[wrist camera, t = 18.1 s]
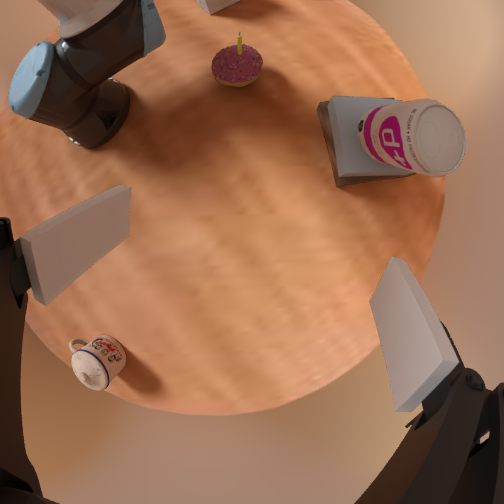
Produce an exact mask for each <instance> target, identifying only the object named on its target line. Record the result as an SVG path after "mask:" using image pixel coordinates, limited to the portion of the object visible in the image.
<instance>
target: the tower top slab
mask: <svg viewBox="0 0 504 504" xmlns="http://www.w3.org/2000/svg"><path fill="white" fill-rule="evenodd" d="M401 102H402V100H394V99H383V98H370V97H350V96H332V98H331V100H330V102H329V104H328V106H327V107H328V112H329V117H330V123H331V128H332V134H333V140H334V146H335V153H336V160H337V167H338V175H339V177H350V176H387V175H408V174H412V173H416V172H413V171H409V170H406V169H402V168H399V167H395V166H391V165H388V164H384V163H380V162H378V161H375V160H373V159H371V158H370V157H369V156H368V155H367V154H366V153H365V152H364V151H363V149H362V147H361V146H360V144H359V140H358V135H357V131H358V123H359V121H360V119H361V117H362V115H363V114H364V113H366V112H367V111H368V110H369V109H372V108H375V107H379V106H384V105H390V104H395V103H401Z"/></svg>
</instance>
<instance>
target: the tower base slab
mask: <svg viewBox="0 0 504 504" xmlns="http://www.w3.org/2000/svg"><path fill="white" fill-rule="evenodd" d="M383 99H394V98H383ZM329 102H330V101H326V102H320V103H319V106H318V108H317V112H318V116H319V119H320V123H321V126H322V130H323V134H324V137H325V141H326V145H327V149H328V153H329V157H330V161H331V165H332V169H333V174H334V178H335V183H336V187H338V186H344V185H351V184H357V183H364V182H370V181H377V180H384V179H391V178H399V177H407V176H410V175H414V174H416V173H412V174H408V175H387V176H350V177H339V175H338V167H337V160H336V153H335V146H334V140H333V134H332V128H331V123H330V117H329V112H328V107H327V106H328V104H329Z"/></svg>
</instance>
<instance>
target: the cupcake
mask: <svg viewBox="0 0 504 504" xmlns="http://www.w3.org/2000/svg"><path fill="white" fill-rule="evenodd" d="M262 67H263V60H262V57H261V55H260V54H259V53H258V52H257V51H256V49H253V48H252V47H250V46H248V45H244V44H243V45H242V36H241V35H240V31H239V35H237V45H233V46H230V47H227V48H225V49H224V48H223V49H222V50H221V51H220V52H219V53H218V54H217V55H216V56H215V57H214V59H213V60H212V73H213V76H214V77H215V79H216V80H217V81H218V82H219V83H221V84H223V85H227V86H235V87H242V86H246V85H248V84H250V83H251V82H253V81H254V80H256V79H257V78H259V77H260V75H261V72H262Z"/></svg>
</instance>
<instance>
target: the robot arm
mask: <svg viewBox="0 0 504 504" xmlns="http://www.w3.org/2000/svg"><path fill="white" fill-rule="evenodd" d="M37 1H38V2H40V3H41V4H42V5H43V6H44V7H45V8H46V9H47V10H49V11H50V12H51V13H52V14H53V15H54V16H55V17H56V18H57V19H59V20H60V26H59V31H58V35H59V36H60V37H61V38H60V39H59V40H58V41H57V42H56V43H54V44H52V43H51V42H46V41H44V42H42V43H39V44H37V45H35V46H34V47H33V48H32V49H31V50H30V51H29V52H28V53H27V55H26V56H25V57H24V58H23V60H22V61H21V63H20V65H19V66H18V68H17V70H16V72H15V74H14V77H13V79H12V82H11V86H10V90H9V106H10V108H11V110H12V111H13V112H14V113H16V114H18V115H21V116H23V117H24V118H25V119H30V120H33V121H36V122H39V123H43V124H46V125H49V126H52V127H55V128H58V129H61V130H62V131H63V132H64V133H65V134H66V135H67V136H68V137H69V138H70V139H71V141H72V142H74V143H75V144H77V145H79V146H82V147H85V148H94V147H98V146H100V145H102V144H104V143H106V142H107V141H108V140H110V139H111V138H112V137H113V136H114V135H115V134H116V133H117V132H118V130H119V129H120V127H121V126H122V124H123V122H124V121H125V118H126V116H127V113H128V110H129V103H130V99H129V93H128V91H127V89H126V87H125V86H124V85H122V84H121V83H120V82H119V81H117V80H115V79H113V78H110V77H111V76H113V75H114V74H116V73H117V72H119V71H121V70H122V69H124V68H125V67H127V66H128V65H130V64H132V63H133V62H135V61H137V60H138V59H140V58H144V57H145V56H146V55H147V54H148V53H150V52H152V51H153V50H155V49H157V48H158V47H160V46H161V45H162V44H163V43H164V41H165V38H166V34H165V30H164V27H163V24H162V21H161V19H160V16H159V13H158V11H157V9H156V7H155V4H154V1H153V0H37ZM130 200H131V187H127V186H122V185H118V186H116V187H114V188H111V189H109V190H107V191H105V192H102V193H100V194H98V195H96V196H94V197H92V198H90V199H88V200H85V201H83V202H81V203H79V204H77V205H75V206H73V207H71V208H69V209H67V210H66V211H64V212H62V213H60V214H58V215H56V216H54V217H52V218H51V219H49V220H47V221H45V222H43V223H42V224H40V225H38V226H36V227H35V228H33V229H31V230H30V231H28V232H26V233H25V234H23V235H21V236H20V238H19V239H17V240H16V241H14V239H13V234H12V228H11V222H10V219H9V218H6V217H1V218H0V504H59V503H56V502H53V501H51V500H48V499H46V498H43V495H42V491H41V488H40V484H39V480H38V477H37V474H36V472H35V469H34V467H33V466H32V464H31V462H30V461H29V459H28V457H27V454H26V450H25V444H24V436H23V427H22V417H21V416H22V415H21V395H20V394H21V393H20V377H21V376H20V374H21V353H22V341H23V331H24V322H25V316H26V309H27V303H28V294H27V290H28V289H29V288H30V287H31V288H32V291H33V294H34V298H35V299H36V300H37V301H39V302H40V303H42V304H44V305H45V306H47V305H48V304H49V303H50V302H51V301H52V300H54V299H55V298H56V297H57V296H58V295H59V294H60V293H61V292H62V291H64V290H65V289H66V288H67V287H68V286H69V285H70V284H71V283H73V282H74V281H75V280H76V279H77V278H78V277H80V276H81V275H82V274H83V273H84V272H85V271H87V270H88V269H89V268H90V267H91V266H93V265H94V264H95V263H96V262H97V261H99V260H100V259H101V258H102V257H104V256H105V255H106V254H107V253H109V252H110V251H111V250H112V249H114V248H115V247H116V246H117V245H119V244H120V243H121V242H123V241H124V240H125V239H127V238H128V237H129V236H130ZM369 302H370V305H371V309H372V312H373V316H374V319H375V323H376V327H377V331H378V334H379V338H380V342H381V346H382V350H383V354H384V359H385V363H386V367H387V372H388V377H389V382H390V387H391V392H392V397H393V402H394V408H395V412H412V411H413V410H414V409H415V408H416V407H417V406H418V405H419V404H420V403H421V402H422V406H423V411H422V412H421V413H420V414H419V415H417V416H416V417H415V418H414V419H413V420H412V421H410V422H409V423H408V424H407V425H406V426H405V427H406V428H408V427H409V426H410V425H412V426H411V428H410V430H409V431H408V433H407V434H406V436H405V437H404V439H403V441H402V442H401V444H400V445H399V447H398V449H397V450H396V451H395V453H394V454H393V456H392V457H391V458H390V460H389V461H388V463H387V464H386V465H385V467H384V468H383V470H382V471H381V472H380V473H379V475H378V476H377V477H376V479H375V480H374V481H373V482H372V484H371V485H370V486H369V487H368V489H367V490H366V491H365V492H364V493H363V494H362V495H361V497H360V498H359V499H358V500H357V501H356V502H355V503H354V504H504V383H500V384H499V385H498V386H497V387H496V388H495V389H494V390H493V391H491V390H488V389H486V388H485V384H484V381H483V379H482V378H481V376H480V375H479V374H478V373H477V372H476V371H474V370H473V369H470V368H465V367H464V364H463V362H462V360H461V358H460V355H459V353H458V351H457V349H456V347H455V345H454V343H453V341H452V338H450V334H449V332H448V330H447V328H446V327H445V326H444V324H443V323H442V322H441V321H440V320H439V319H438V317H437V315H436V313H435V311H434V309H433V307H432V305H431V304H430V302H429V300H428V298H427V296H426V295H425V293H424V291H423V289H422V288H421V286H420V284H419V283H418V281H417V279H416V278H415V276H414V274H413V273H412V271H411V269H410V268H409V266H408V265H407V263H406V261H405V260H403V259H400V258H397V257H394V256H392V257H391V259H390V261H389V263H388V265H387V267H386V269H385V272H384V274H383V276H382V278H381V280H380V282H379V284H378V286H377V288H376V290H375V292H374V294H373V296H372V298H371V300H370V301H369ZM489 431H490V433H489V434H490V435H489V438H488V439H487V440H485V441H484V442H483V443H481V444H480V438H481V437H482V436H484V435H485V434H486V433H487V432H489Z"/></svg>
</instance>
